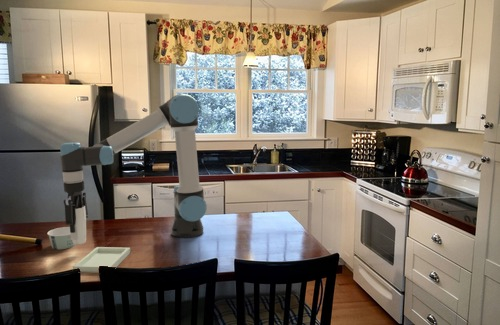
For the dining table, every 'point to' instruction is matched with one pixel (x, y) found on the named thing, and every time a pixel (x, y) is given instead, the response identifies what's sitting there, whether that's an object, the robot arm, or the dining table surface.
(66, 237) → the food container
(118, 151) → the robot arm
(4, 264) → the dining table surface
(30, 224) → the dining table surface
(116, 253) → the tray
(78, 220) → the drinking glass
